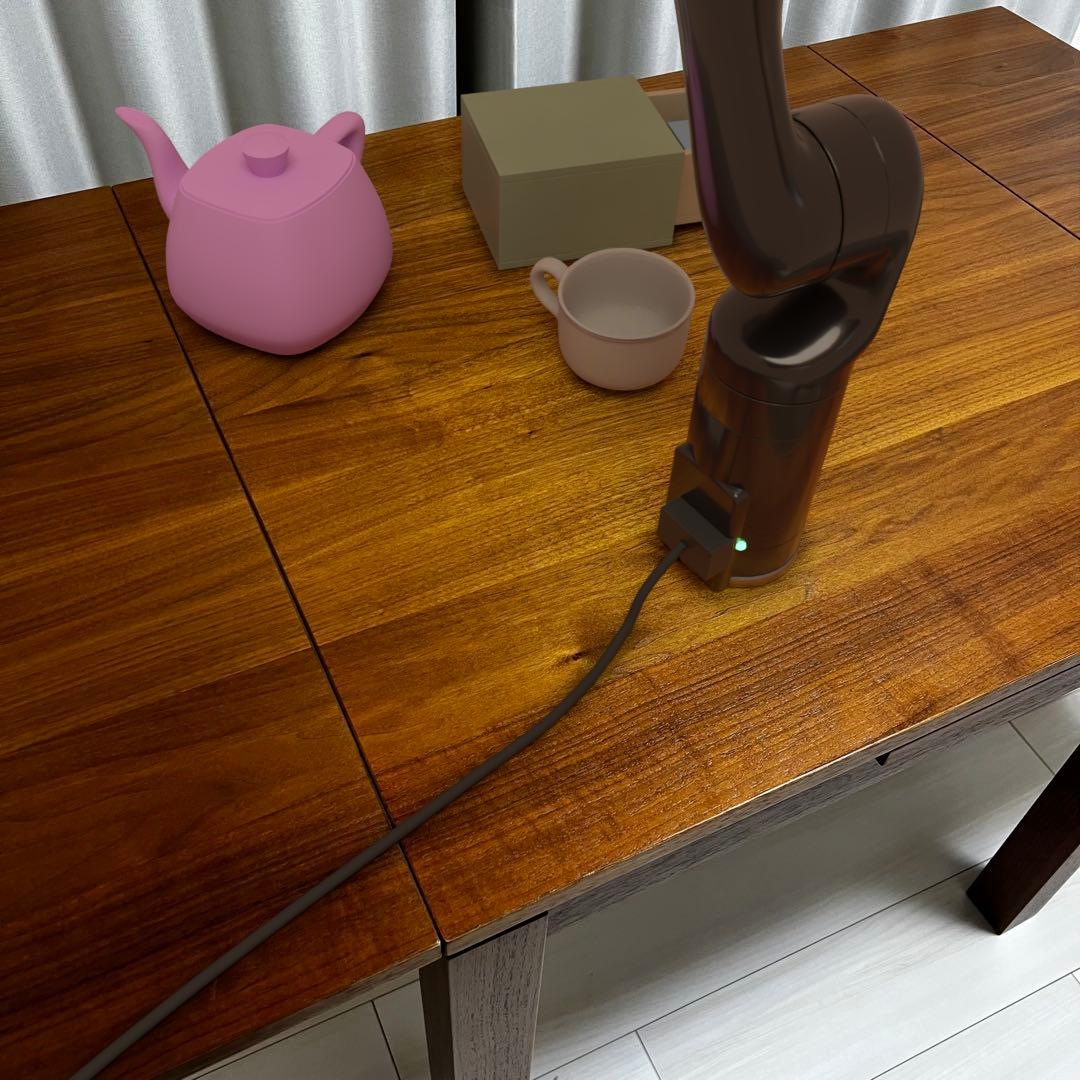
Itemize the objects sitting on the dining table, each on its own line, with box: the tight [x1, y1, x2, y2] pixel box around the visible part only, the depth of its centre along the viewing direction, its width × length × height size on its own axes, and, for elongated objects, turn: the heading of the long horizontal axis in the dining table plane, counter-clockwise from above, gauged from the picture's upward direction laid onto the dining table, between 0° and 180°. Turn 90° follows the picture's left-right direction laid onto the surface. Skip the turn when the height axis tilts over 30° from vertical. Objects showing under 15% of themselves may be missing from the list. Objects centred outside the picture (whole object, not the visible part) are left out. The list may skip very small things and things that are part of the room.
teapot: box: [115, 106, 394, 356], centre depth 99 cm, size 23×21×15 cm
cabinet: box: [460, 74, 685, 271], centre depth 109 cm, size 17×14×10 cm
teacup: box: [529, 248, 696, 391], centre depth 96 cm, size 14×11×8 cm
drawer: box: [644, 87, 793, 226], centre depth 112 cm, size 20×12×8 cm, turn 106°
